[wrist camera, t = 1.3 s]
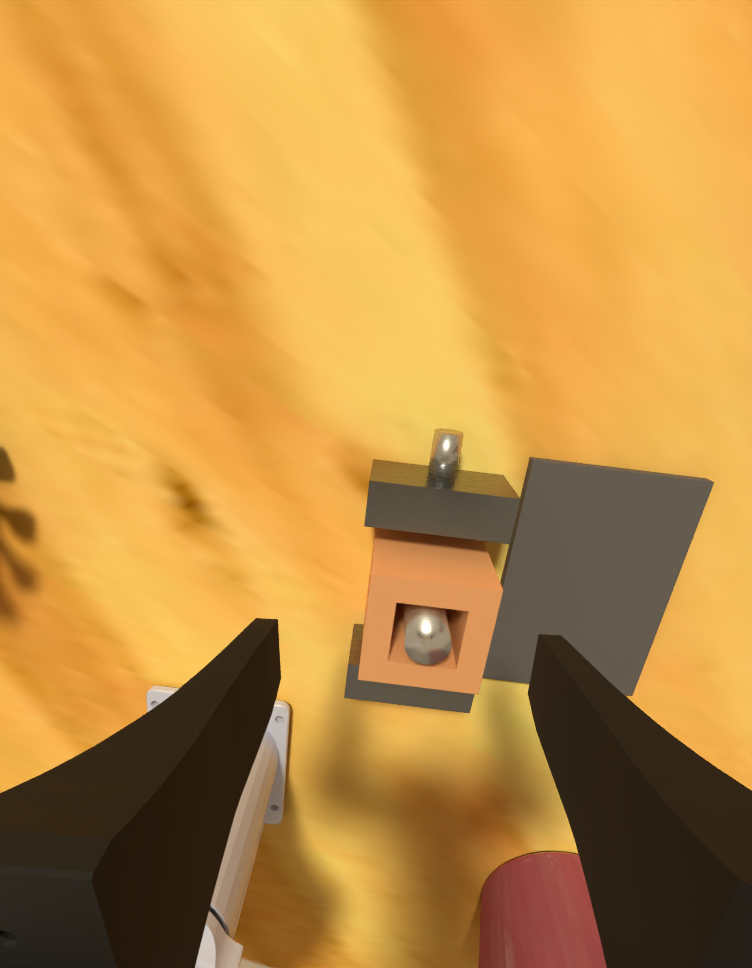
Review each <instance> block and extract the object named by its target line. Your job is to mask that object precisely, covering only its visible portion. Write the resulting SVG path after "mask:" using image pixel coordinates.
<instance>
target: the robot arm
mask: <svg viewBox="0 0 752 968" xmlns="http://www.w3.org/2000/svg"><path fill="white" fill-rule="evenodd" d="M280 680H281V670H280V652H279V633H278V619H261V618H256V619H255V620H254V621H253V622H251V623H250V624H249V625H248V626H247V627H246V628H245V629H244V630H243V631H242V632H241V633H240V634H239V635H238V636H237V637H236V638H235V639H234V640H233V641H232V642H231V643H230V644H229V645H228V646H227V647H226V648H225V649H224V650H223V651H222V652H220V653H219V654H218V655H217V656H216V657H215V658H214V659H213V660H212V661H211V662H210V663H209V664H207V665H206V666H205V667H204V668H203V669H202V670H201V671H200V672H198V673H197V674H196V675H195V676H194V677H193V678H191V679H190V680H189V681H188V682H187V683H185V684H184V685H183V686H182V687H181V688H172V687H164V686H153V687H151V688H150V689H149V691H148V692H147V695H146V699H147V713H146V714H145V715H143V716H142V717H140V718H139V719H137V720H136V721H134V722H133V723H131V724H129V725H128V726H126V727H125V728H123V729H121V730H120V731H118V732H117V733H115V734H113V735H112V736H110V737H109V738H107V739H105V740H104V741H102V742H101V743H99V744H97V745H95V746H94V747H92V748H90V749H88V750H86V751H85V752H83V753H81V754H79V755H78V756H76V757H74V758H72V759H70V760H68V761H66V762H64V763H62V764H61V765H59V766H57V767H55V768H53V769H51V770H49V771H47V772H45V773H43V774H41V775H39V776H37V777H35V778H32V779H30V780H28V781H26V782H24V783H22V784H19V785H17V786H15V787H13V788H11V789H9V790H6V791H4V792H2V793H0V968H239V965H240V961H241V957H242V953H243V949H244V947H243V945H242V944H240V943H238V942H236V941H235V940H233V938H234V935H235V932H236V929H237V925H238V921H239V918H240V914H241V910H242V906H243V903H244V899H245V895H246V891H247V888H248V884H249V880H250V876H251V872H252V869H253V865H254V861H255V857H256V854H257V850H258V846H259V842H260V839H261V835H262V831H263V827H264V823H267V824H279V823H280V822H281V821H282V818H283V810H284V795H285V780H286V765H287V750H288V735H289V720H290V706H289V705H288V704H287V703H286V702H283V701H277V700H276V697H277V692H278V688H279V684H280ZM528 696H529V700H530V705H531V710H532V714H533V718H534V722H535V727H536V731H537V734H538V736H539V739H540V742H541V745H542V748H543V751H544V754H545V756H546V759H547V762H548V765H549V768H550V770H551V773H552V776H553V779H554V781H555V784H556V787H557V790H558V792H559V795H560V798H561V801H562V803H563V806H564V809H565V812H566V814H567V817H568V820H569V823H570V826H571V829H572V833H573V836H574V839H575V842H576V846H577V850H578V853H579V857H580V861H581V865H582V869H583V872H584V876H585V880H586V884H587V888H588V892H589V896H590V900H591V904H592V908H593V912H594V916H595V920H596V924H597V928H598V932H599V936H600V940H601V945H602V949H603V954H604V958H605V962H606V967H607V968H752V791H751V790H750V789H748V788H747V787H745V786H744V785H742V784H741V783H739V782H738V781H736V780H735V779H733V778H732V777H730V776H728V775H727V774H725V773H724V772H722V771H721V770H719V769H718V768H716V767H715V766H714V765H712V764H711V763H709V762H708V761H706V760H705V759H703V758H702V757H701V756H699V755H698V754H697V753H695V752H694V751H693V750H691V749H690V748H689V747H687V746H686V745H684V744H683V743H682V742H680V741H679V740H678V739H676V738H675V737H674V736H672V735H671V734H670V733H669V732H667V731H666V730H665V729H664V728H662V727H661V726H660V725H659V724H657V723H656V722H655V721H654V720H653V719H651V718H650V717H649V716H648V715H647V714H645V713H644V712H643V711H642V710H641V709H640V708H638V707H637V706H636V705H635V704H634V703H633V702H631V701H630V700H629V699H628V698H627V697H626V696H625V695H624V694H622V693H621V692H620V691H619V690H618V689H617V688H616V687H615V686H614V685H613V684H612V683H610V682H609V681H608V680H607V679H606V678H605V677H604V676H603V675H602V674H601V673H600V672H599V671H598V670H597V669H596V668H595V667H594V666H593V665H592V664H591V663H590V662H589V661H588V660H586V659H585V658H584V657H583V656H582V655H581V654H580V653H579V652H578V651H577V650H576V649H575V648H574V647H573V646H572V645H571V644H570V643H569V642H568V641H567V640H566V639H565V638H564V637H563V636H561V635H547V634H538V640H537V646H536V651H535V657H534V662H533V668H532V673H531V679H530V684H529V690H528ZM156 701H157V702H156ZM278 716H281V717H283V718H280V717H278Z"/></svg>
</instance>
